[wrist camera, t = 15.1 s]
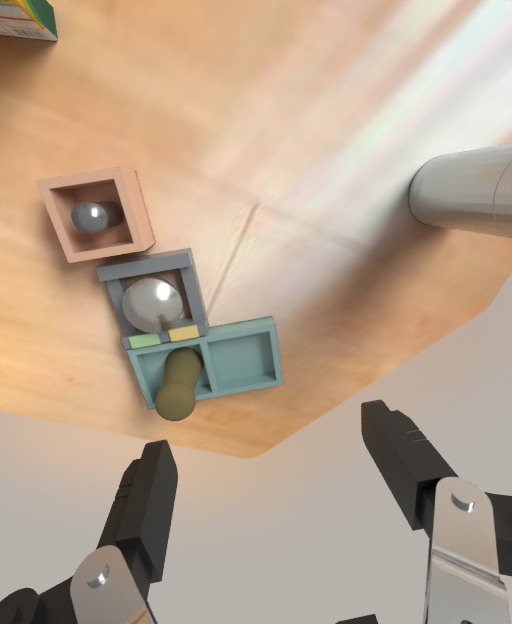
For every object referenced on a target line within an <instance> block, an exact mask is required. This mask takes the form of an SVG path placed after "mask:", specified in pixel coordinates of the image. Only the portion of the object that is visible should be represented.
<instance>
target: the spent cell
mask: <svg viewBox="0 0 512 624" xmlns="http://www.w3.org/2000/svg"><path fill="white" fill-rule="evenodd" d="M71 219H72V222H73V224H74V225H75V227H76V228H77V229H78V230H80V231H82V232H84V233H87V234H93V233H96V232H100V231H103V230H106V229H109V228H113V227H116V226H118V225H120V224H121V222H122V221H123V211H122V209H121V208H120V206H119V205H118V204H116V203H115V202H112V201H99V202H84V203H79V204H77V205H75V206H74V207H73V209H72V211H71Z"/></svg>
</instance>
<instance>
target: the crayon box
mask: <svg viewBox="0 0 512 624" xmlns="http://www.w3.org/2000/svg"><path fill="white" fill-rule="evenodd" d="M0 35H7V36H16V37H24V38H33V39H44V40H53V41H57V40H58V37H57V31H56V25H55V18H54V12H53V7H52V6H51V5H50V4H49V3H48V2H47V1H46V0H0Z"/></svg>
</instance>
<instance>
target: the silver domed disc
mask: <svg viewBox="0 0 512 624" xmlns="http://www.w3.org/2000/svg"><path fill="white" fill-rule="evenodd" d="M122 308H123V312H124V315H125V316H126V318H127V320H128V321H129V322H130V323H131V324H132V325H133V326H134V327H136V328H138V329H139V330H142V331H144V332H148V333H161V332H165V331H167V330H169V329H171V328H172V327H173V326H175V325H176V323H177V322H178V320H179V319H180V316H181V313H182V310H183V301H182V297H181V295H180V293H179V291H178V290H177V289H176V287H175V286H174V285H173V284H171V283H170V282H168V281H166V280H164V279H162V278H158V277H145V278H141V279H139V280H137V281H135V282H134V283H133V284H132V285H131V286H130V287H129V288H128V289H127V290H126V291H125V293H124V296H123V299H122Z"/></svg>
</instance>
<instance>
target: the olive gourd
mask: <svg viewBox="0 0 512 624" xmlns="http://www.w3.org/2000/svg"><path fill="white" fill-rule="evenodd" d="M202 368H203V359H202V356H201V355H200V354H199V353H198V352H197V351H196V350H194V349H192V348H188V347H179V348H176V349H174V350H172V351H171V352H170V353H169V354H168V355H167V357H166V361H165V370H164V379H163V386H162V388H161V389H160V390H159V391H158V393H157V395H156V398H155V408H156V410H157V412H158V414H159V415H160V416H161V417H162V418H164V419H166V420H170V421H179V420H183V419H184V418H186V417H188V416H189V415H190V414H191V413H192V411H193V410H194V407H195V404H196V396H195V393H194V390H195V387H196V385H197V382H198V379H199V377H200V374H201V371H202Z"/></svg>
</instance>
